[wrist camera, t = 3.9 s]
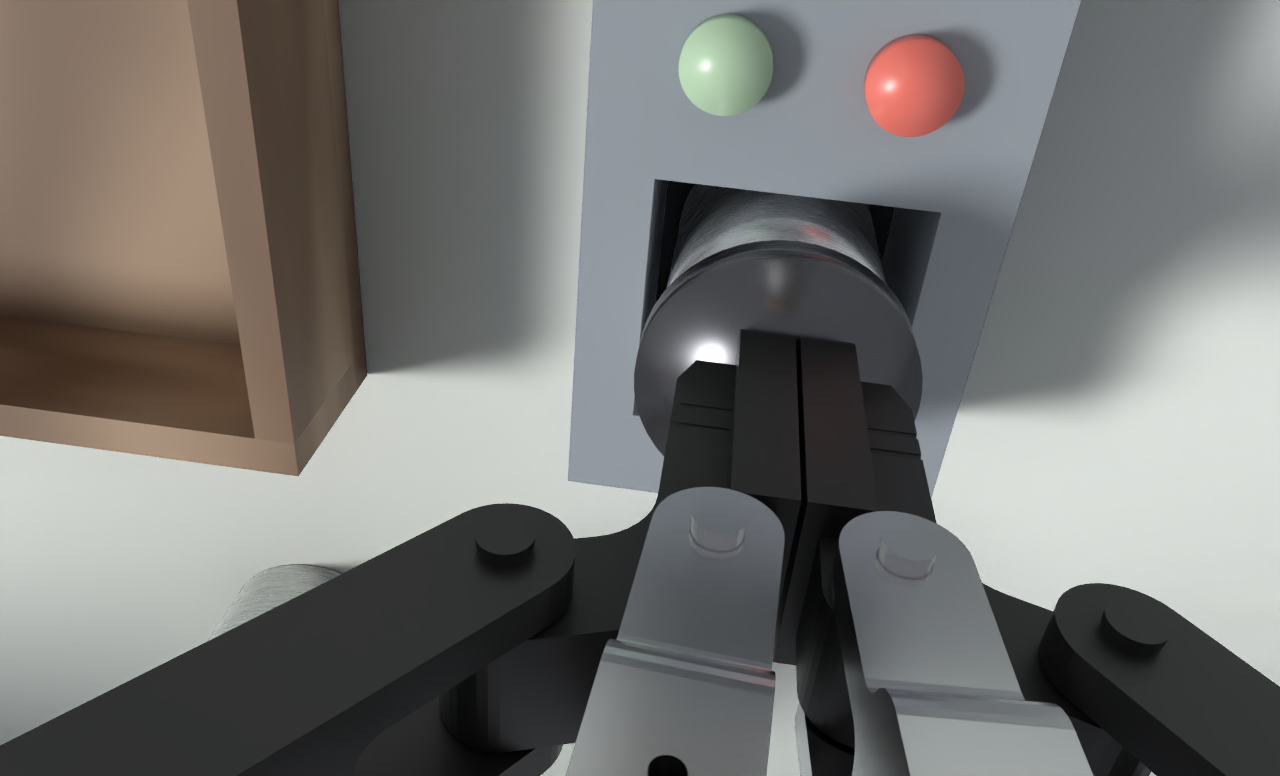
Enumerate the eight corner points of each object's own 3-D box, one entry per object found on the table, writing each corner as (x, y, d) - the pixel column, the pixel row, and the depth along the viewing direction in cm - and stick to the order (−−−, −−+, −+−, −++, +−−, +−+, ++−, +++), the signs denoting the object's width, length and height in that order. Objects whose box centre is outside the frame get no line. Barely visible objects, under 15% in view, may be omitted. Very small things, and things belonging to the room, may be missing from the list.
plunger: (659, 314, 19) (624, 485, 14) (680, 116, 17) (645, 241, 12) (859, 338, 19) (888, 520, 14) (904, 142, 17) (955, 279, 12)
